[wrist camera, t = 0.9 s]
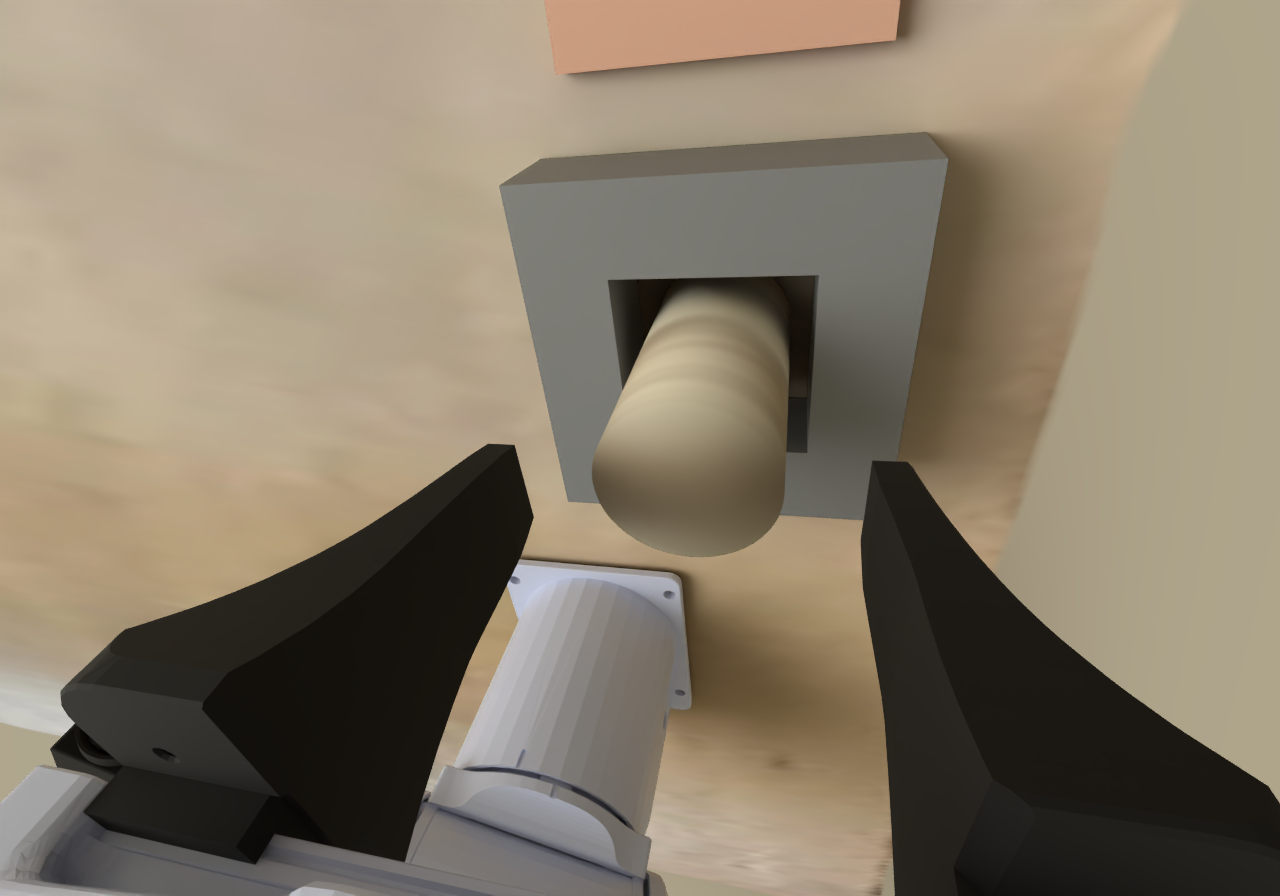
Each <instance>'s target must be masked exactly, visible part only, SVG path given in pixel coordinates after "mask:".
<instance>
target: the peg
mask: <svg viewBox="0 0 1280 896" xmlns="http://www.w3.org/2000/svg"><path fill="white" fill-rule="evenodd" d="M790 336H791V314H790V308H789V305H788V302H787V299H786V297H785V295H784V293H783V291H782V290H781V288H780V287H779V285H778V284H777V283H776V282H775V281H774V280H773V279H772V278H771V277H770V276H760V277H715V278H678V279H677V280H676V281H675V282H674V283H673V284H672V286H671V287H670V288H669V290H668V292H667V293H666V296H665V298H664V300H663V302H662V305H661V307H660V309H659V311H658V313H657V316H656V318H655V320H654V322H653V325H652V327H651V329H650V331H649V333H648V336H647V338H646V340H645V342H644V344H643V347H642V349H641V351H640V353H639V356H638V358H637V360H636V362H635V364H634V367H633V369H632V371H631V373H630V376H629V378H628V380H627V382H626V384H625V387H624V389H623V391H622V393H621V396H620V398H619V400H618V402H617V404H616V407H615V409H614V411H613V413H612V415H611V418H610V420H609V422H608V424H607V427H606V429H605V431H604V433H603V435H602V438H601V440H600V442H599V444H598V447H597V449H596V451H595V454H594V458H593V462H592V481H593V486H594V490H595V493H596V495H597V498H598V500H599V502H600V504H601V505H602V507H603V509H604V510H605V512H606V513H607V514H608V516H609V517H610V518H611V519H612V520H613V521H614V522H615V523H616V524H617V525H618V526H619V527H620V528H621V529H622V530H623V531H625V532H626V533H627V534H629V535H630V536H632V537H633V538H635V539H636V540H638V541H640V542H642V543H644V544H645V545H648V546H650V547H652V548H655V549H657V550H660V551H664V552H667V553H671V554H675V555H681V556H689V557H712V556H719V555H725V554H728V553H732V552H736V551H738V550H741V549H743V548H745V547H747V546H749V545H751V544H753V543H754V542H756V541H757V540H759V539H760V538H761V537H763V536H764V535H765V534H766V533H767V532H768V531H769V530H770V529H771V527H772V526H773V525H774V523H775V522H776V520H777V518H778V516H779V514H780V512H781V509H782V506H783V502H784V495H785V471H786V444H787V417H788V390H789V363H790Z"/></svg>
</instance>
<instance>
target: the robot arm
mask: <svg viewBox="0 0 1280 896" xmlns="http://www.w3.org/2000/svg"><path fill="white" fill-rule="evenodd" d="M533 518H534V516H533V513H532V509H531V505H530V501H529V498H528V494H527V490H526V486H525V483H524V479H523V475H522V471H521V468H520V464H519V460H518V457H517V453H516V449H515V445H503V444H487V445H486V446H484V447H482V448H481V449H479V450H478V451H476V452H475V453H473V454H472V455H470V456H469V457H467V458H466V459H465V460H463V461H462V462H460V463H459V464H457V465H456V466H455V467H453V468H452V469H451V470H449V471H448V472H446V473H445V474H444V475H442V476H441V477H439V478H438V479H437V480H435V481H434V482H432V483H431V484H430V485H428V486H427V487H425V488H424V489H422V490H421V491H420V492H418V493H417V494H415V495H414V496H413V497H411V498H410V499H408V500H407V501H405V502H404V503H402V504H401V505H399V506H398V507H396V508H394V509H393V510H391V511H390V512H388V513H387V514H385V515H384V516H382V517H381V518H379V519H378V520H376V521H375V522H373V523H372V524H370V525H368V526H367V527H365V528H363V529H362V530H360V531H358V532H357V533H355V534H353V535H352V536H350V537H348V538H346V539H345V540H343V541H341V542H339V543H337V544H336V545H334V546H332V547H330V548H328V549H326V550H325V551H323V552H321V553H319V554H317V555H315V556H313V557H311V558H309V559H307V560H305V561H303V562H301V563H298V564H296V565H294V566H292V567H290V568H288V569H286V570H284V571H281V572H279V573H277V574H275V575H273V576H271V577H269V578H267V579H264V580H262V581H260V582H257V583H255V584H253V585H250V586H248V587H245V588H243V589H241V590H238V591H236V592H233V593H231V594H228V595H225V596H223V597H220V598H218V599H215V600H212V601H210V602H207V603H204V604H202V605H199V606H196V607H193V608H190V609H187V610H184V611H181V612H178V613H175V614H172V615H169V616H166V617H163V618H160V619H157V620H154V621H151V622H148V623H145V624H142V625H138V626H135V627H132V628H128V629H125V630H124V631H123V632H121V633H120V634H119V635H118V636H117V637H116V638H115V639H114V640H113V641H112V642H111V643H110V644H109V645H108V646H107V647H106V648H105V649H104V650H103V651H102V652H100V653H99V654H98V655H97V656H96V657H95V658H94V659H93V660H92V661H91V662H90V663H89V664H88V665H87V666H86V667H85V668H84V669H82V670H81V671H80V672H79V673H78V674H77V675H76V676H75V677H74V678H73V679H72V680H71V681H70V682H69V683H68V684H67V685H66V686H65V687H64V688H63V689H62V690H61V703H62V707H63V709H64V710H65V712H66V713H67V715H68V716H69V717H70V718H71V719H72V720H73V721H74V722H75V723H76V724H77V725H78V726H79V727H80V728H81V729H82V730H83V731H84V732H85V733H86V734H88V735H89V736H90V737H91V738H92V739H93V740H94V741H95V742H97V743H98V744H99V745H100V746H101V747H102V748H103V749H104V750H106V751H107V752H108V753H109V754H110V755H111V756H112V757H114V758H115V759H116V760H117V761H118V762H119V763H120V764H121V765H123V767H122V768H121V769H120V770H119V772H118V773H117V774H116V775H115V776H114V777H113V778H112V780H111V781H110V782H109V783H108V782H106V781H104V780H102V779H100V778H98V777H96V776H93V775H90V774H87V773H82V772H77V771H72V770H67V769H63V768H58V767H53V766H48V765H41V766H37V767H35V768H34V769H33V770H32V772H31V773H29V774H28V776H27V777H26V778H25V779H24V780H23V781H22V782H21V783H20V784H19V785H18V786H17V787H16V788H15V789H14V790H13V791H12V792H11V793H10V794H9V795H8V796H7V797H6V798H5V799H4V800H3V801H2V802H1V803H0V896H668V895H667V891H666V887H665V884H664V882H663V879H662V878H661V876H660V875H658V874H656V873H654V872H651V871H648V870H647V864H648V859H649V853H650V848H651V842H652V840H651V839H650V838H649V837H647V836H644V835H645V833H646V830H647V827H648V824H649V821H650V816H651V811H652V806H653V800H654V795H655V789H656V784H657V779H658V773H659V768H660V762H661V757H662V752H663V746H664V741H665V735H666V730H667V725H668V719H669V714H670V709H671V708H672V709H679V710H687V709H689V708H690V707H691V704H692V692H691V681H690V670H689V658H688V647H687V636H686V625H685V614H684V603H683V591H682V581H681V579H680V578H679V577H678V576H677V575H676V574H674V573H670V572H659V571H648V570H636V569H625V568H613V567H602V566H591V565H579V564H568V563H556V562H545V561H533V560H522V559H520V557H521V554H522V551H523V549H524V546H525V543H526V540H527V537H528V534H529V531H530V527H531V524H532V521H533ZM861 559H862V579H863V591H864V597H865V603H866V609H867V615H868V621H869V627H870V632H871V638H872V644H873V650H874V655H875V661H876V667H877V672H878V678H879V684H880V690H881V696H882V703H883V711H884V719H885V733H886V747H887V761H888V776H889V792H890V809H891V826H892V846H893V866H894V886H895V896H1280V803H1279V802H1278V800H1277V799H1276V797H1275V796H1274V794H1273V793H1272V791H1271V790H1270V788H1269V787H1268V786H1267V785H1265V784H1264V783H1262V782H1261V781H1259V780H1258V779H1256V778H1255V777H1253V776H1251V775H1250V774H1248V773H1247V772H1245V771H1243V770H1242V769H1240V768H1239V767H1237V766H1236V765H1234V764H1233V763H1231V762H1230V761H1228V760H1226V759H1225V758H1223V757H1222V756H1220V755H1219V754H1217V753H1216V752H1214V751H1212V750H1211V749H1209V748H1208V747H1206V746H1205V745H1203V744H1202V743H1200V742H1198V741H1197V740H1195V739H1194V738H1192V737H1191V736H1189V735H1187V734H1186V733H1184V732H1183V731H1181V730H1180V729H1178V728H1177V727H1176V726H1174V725H1172V724H1171V723H1170V722H1168V721H1167V720H1166V719H1164V718H1162V717H1161V716H1160V715H1159V714H1157V713H1155V712H1154V711H1153V710H1152V709H1150V708H1149V707H1147V706H1146V705H1145V704H1143V703H1142V702H1140V701H1139V700H1137V699H1136V698H1135V697H1133V696H1132V695H1131V694H1129V693H1128V692H1127V691H1125V690H1124V689H1123V688H1121V687H1120V686H1118V685H1117V684H1116V683H1115V682H1113V681H1112V680H1111V679H1109V678H1108V677H1107V676H1105V675H1104V674H1103V673H1102V672H1101V671H1099V670H1098V669H1097V668H1096V667H1094V666H1093V665H1092V664H1091V663H1089V662H1088V661H1087V660H1086V659H1084V658H1083V657H1082V656H1081V655H1080V654H1078V653H1077V652H1076V651H1075V650H1074V649H1072V648H1071V647H1070V646H1069V645H1067V644H1066V643H1065V642H1064V641H1062V640H1061V639H1060V638H1059V637H1058V636H1057V635H1056V634H1055V633H1053V632H1052V631H1051V630H1050V629H1049V628H1048V627H1046V626H1045V625H1044V624H1043V623H1042V622H1041V621H1040V620H1039V619H1038V618H1037V617H1036V616H1035V615H1034V614H1033V613H1032V612H1031V611H1030V610H1028V609H1027V608H1026V607H1025V606H1024V605H1023V604H1022V603H1021V602H1020V601H1019V600H1018V599H1017V598H1016V597H1015V596H1014V595H1013V594H1012V593H1011V592H1010V591H1009V589H1008V588H1007V587H1006V586H1005V585H1004V584H1003V583H1002V582H1001V581H1000V580H999V579H998V578H997V577H996V575H995V574H994V573H993V572H992V571H991V570H990V569H989V568H988V567H987V566H986V564H985V563H984V562H983V561H982V560H981V559H980V558H979V556H978V555H977V554H976V553H975V552H974V550H973V549H972V548H971V547H970V546H969V544H968V543H967V542H966V541H965V539H964V538H963V537H962V536H961V534H960V533H959V532H958V531H957V529H956V528H955V527H954V526H953V524H952V523H951V522H950V521H949V519H948V518H947V517H946V515H945V514H944V513H943V511H942V510H941V508H940V507H939V506H938V504H937V503H936V501H935V500H934V499H933V497H932V496H931V494H930V493H929V492H928V490H927V489H926V487H925V486H924V484H923V483H922V481H921V480H920V478H919V477H918V475H917V474H916V472H915V470H914V469H913V467H912V466H911V465H910V464H909V463H908V462H896V461H873V460H872V466H871V473H870V480H869V486H868V493H867V500H866V507H865V514H864V521H863V528H862V535H861ZM506 586H508V589H509V593H510V596H511V599H512V602H513V605H514V608H515V611H516V614H517V617H518V620H519V621H518V624H517V626H516V628H515V630H514V632H513V635H512V637H511V639H510V641H509V644H508V646H507V648H506V650H505V652H504V655H503V657H502V659H501V661H500V663H499V666H498V668H497V670H496V672H495V675H494V677H493V679H492V681H491V683H490V686H489V688H488V690H487V692H486V694H485V697H484V699H483V701H482V703H481V706H480V708H479V710H478V712H477V714H476V717H475V719H474V721H473V723H472V725H471V728H470V730H469V732H468V734H467V737H466V739H465V741H464V743H463V745H462V748H461V750H460V752H459V754H458V756H457V759H456V761H455V763H454V765H453V767H452V766H449V765H446V766H444V768H443V770H442V772H441V774H440V776H439V778H438V781H437V783H436V785H435V787H434V789H433V791H432V794H431V792H428V791H425V789H426V785H427V782H428V779H429V776H430V772H431V769H432V766H433V763H434V760H435V756H436V753H437V750H438V747H439V744H440V741H441V738H442V735H443V732H444V729H445V727H446V724H447V721H448V718H449V715H450V712H451V709H452V706H453V703H454V701H455V698H456V695H457V693H458V690H459V687H460V685H461V682H462V679H463V677H464V674H465V671H466V669H467V666H468V664H469V661H470V659H471V657H472V655H473V652H474V650H475V648H476V646H477V644H478V642H479V640H480V638H481V636H482V634H483V632H484V630H485V628H486V626H487V624H488V622H489V620H490V618H491V616H492V614H493V612H494V610H495V608H496V606H497V604H498V602H499V600H500V598H501V596H502V594H503V592H504V590H505V588H506ZM669 591H671V592H669Z"/></svg>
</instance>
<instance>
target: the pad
mask: <svg viewBox="0 0 1280 896" xmlns="http://www.w3.org/2000/svg"><path fill="white" fill-rule="evenodd" d="M545 7H546V13H547V20H548V26H549V33H550V39H551V46H552V52H553V59H554V65H555V72H556V75H558V74H568V73H578V72H588V71H598V70H607V69H617V68H627V67H637V66H646V65H656V64H666V63H676V62H686V61H695V60H705V59H715V58H725V57H735V56H744V55H754V54H764V53H774V52H783V51H793V50H803V49H813V48H823V47H832V46H842V45H852V44H862V43H872V42H881V41H891V40H896V34H897V25H898V16H899V8H900V0H545Z"/></svg>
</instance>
